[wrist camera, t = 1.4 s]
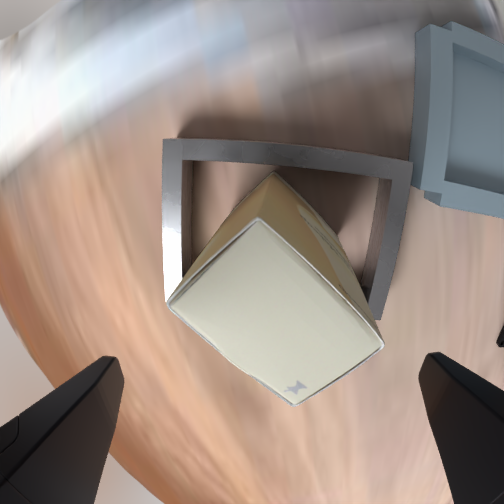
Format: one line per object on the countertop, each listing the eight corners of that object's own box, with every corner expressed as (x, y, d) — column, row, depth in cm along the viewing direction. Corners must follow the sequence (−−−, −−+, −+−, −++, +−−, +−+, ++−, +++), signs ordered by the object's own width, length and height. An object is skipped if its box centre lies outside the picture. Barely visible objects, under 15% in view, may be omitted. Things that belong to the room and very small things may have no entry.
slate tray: (537, 76, 14) (556, 75, 12) (524, 218, 19) (542, 227, 17) (414, 23, 15) (429, 12, 13) (403, 194, 20) (418, 202, 17)
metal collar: (398, 158, 19) (413, 162, 16) (371, 301, 22) (380, 320, 20) (176, 137, 20) (162, 138, 17) (176, 284, 23) (165, 300, 21)
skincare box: (339, 235, 21) (396, 350, 10) (292, 277, 22) (298, 414, 11) (270, 164, 20) (258, 210, 8) (223, 212, 21) (159, 308, 10)
